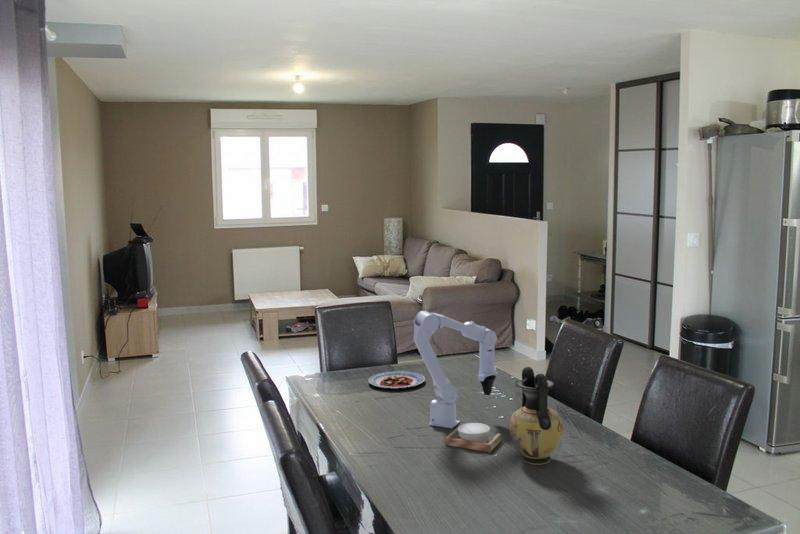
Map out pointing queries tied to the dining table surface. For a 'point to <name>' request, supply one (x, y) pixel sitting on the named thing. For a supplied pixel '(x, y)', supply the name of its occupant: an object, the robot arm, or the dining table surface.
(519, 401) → the coffee box
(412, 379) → the ceramic plate
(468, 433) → the ramekin
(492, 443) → the dock
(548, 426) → the amphora
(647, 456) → the dining table surface
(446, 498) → the dining table surface
